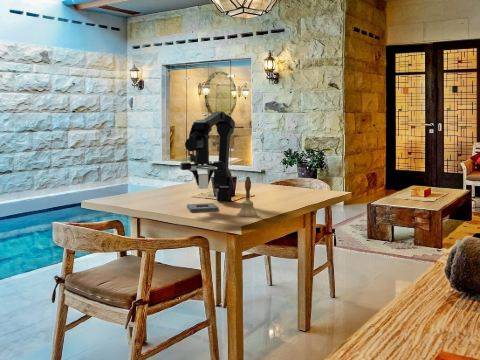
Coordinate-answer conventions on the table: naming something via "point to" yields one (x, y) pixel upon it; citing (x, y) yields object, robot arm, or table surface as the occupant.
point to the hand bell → (247, 201)
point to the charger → (203, 181)
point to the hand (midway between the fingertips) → (202, 185)
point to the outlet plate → (202, 207)
